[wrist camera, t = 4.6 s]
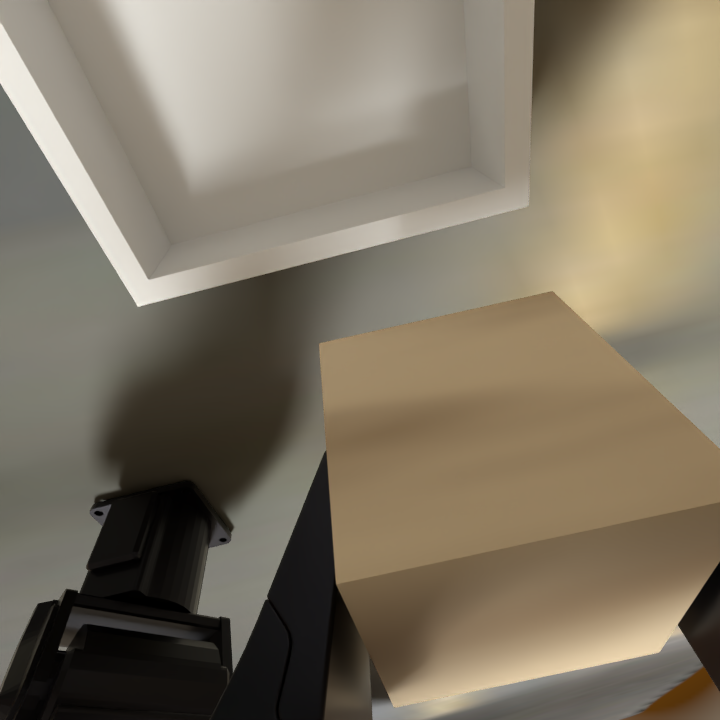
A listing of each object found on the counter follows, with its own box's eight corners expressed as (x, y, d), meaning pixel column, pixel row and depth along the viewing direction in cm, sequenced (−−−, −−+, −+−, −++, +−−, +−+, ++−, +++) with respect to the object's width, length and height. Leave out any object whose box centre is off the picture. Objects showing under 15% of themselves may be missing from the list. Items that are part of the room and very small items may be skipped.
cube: (536, 447, 12) (659, 652, 8) (362, 486, 12) (394, 707, 8) (552, 290, 9) (765, 493, 5) (319, 343, 9) (335, 584, 5)
